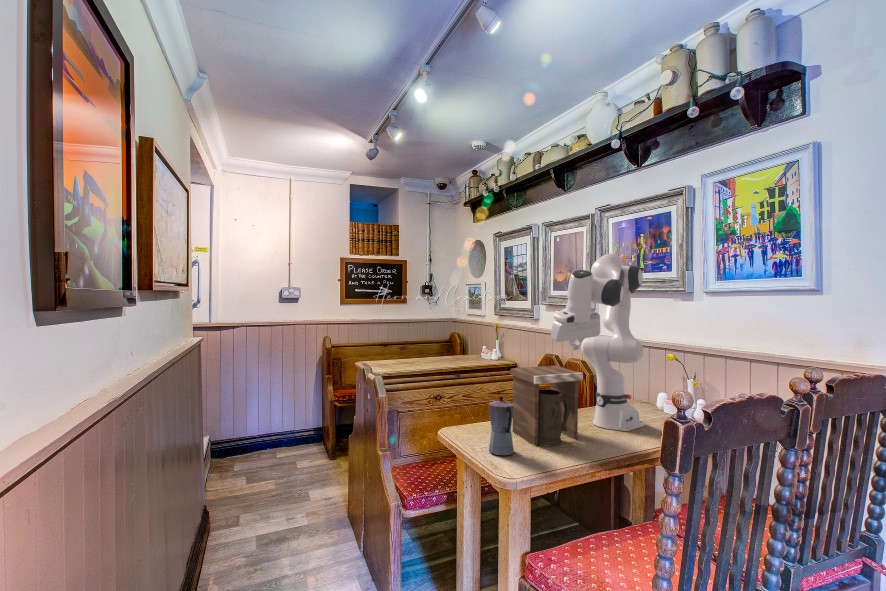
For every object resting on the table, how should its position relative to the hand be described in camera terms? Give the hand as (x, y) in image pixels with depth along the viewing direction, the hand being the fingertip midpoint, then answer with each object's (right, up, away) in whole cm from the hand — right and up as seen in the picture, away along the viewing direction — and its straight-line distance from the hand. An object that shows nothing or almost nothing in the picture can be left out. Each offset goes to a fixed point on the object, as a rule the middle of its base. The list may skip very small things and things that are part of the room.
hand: (574, 349), depth 157 cm
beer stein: (-7, -37, +6) cm, 38 cm away
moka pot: (-28, -37, -7) cm, 47 cm away
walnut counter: (-9, -37, +11) cm, 39 cm away
